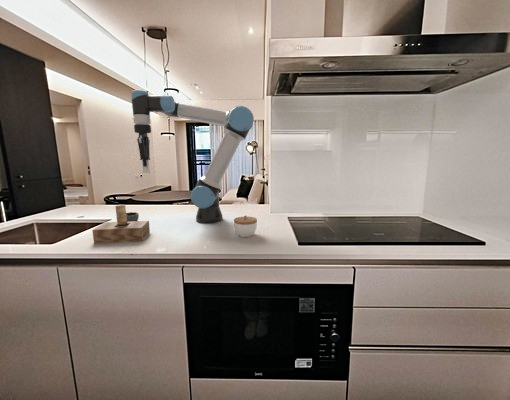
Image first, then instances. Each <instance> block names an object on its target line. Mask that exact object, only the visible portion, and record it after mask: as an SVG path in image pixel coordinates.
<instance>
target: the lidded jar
mask: <svg viewBox="0 0 510 400" xmlns="http://www.w3.org/2000/svg"><path fill="white" fill-rule="evenodd" d="M233 223H234V225H233V226H234V230H235V232H236V233H237V235H238V236H240V238H250V237H252V236H253V235H254V234H255V232H257V231H256V230H257V225H258V224H257V223H258V218H257V217H254V216H248V215H244V216H239V217H235V218H234V219H233Z"/></svg>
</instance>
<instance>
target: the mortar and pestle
mask: <svg viewBox="0 0 510 400" xmlns="http://www.w3.org/2000/svg"><path fill="white" fill-rule="evenodd" d="M119 205H122V204H120V203H119ZM126 216H127V222H129V221H139V217H140V216H139V213H138V212H132V211H131V212H126Z"/></svg>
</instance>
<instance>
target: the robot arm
mask: <svg viewBox="0 0 510 400" xmlns="http://www.w3.org/2000/svg"><path fill="white" fill-rule="evenodd" d="M130 101H131V105H132V106H131V107H132V117H131V119H132V120H133V124H134V125H133V129H134V133H136V134H138V137H137V139H136V140H137V143H138V144H137V146H138V151H139V157H140V158H139V160H140V161H142V162H141V164H142V173H143V174H149V173H150V162H149V161H150V160H151V158H150V157H151V156H150V143H151V142H150V139H149V138H150V137H149V136H148V134H151V133H152V127H151V123H152V122H151V115H150V114H151V113H162V114H164V115H165V116H167V117H170V118H171V117H172V118H178V119H179V118H180V119H185V120H189V121H190V120H191V121H194V122H199V123H204V124H209V125H215V126H219V127H223V130H224V134H223V137H222V139H221V141H220V143H219V144H218V147H217V148H216V151H215V153H214V155H213V157H212V159H211V162H210V163H209V165H208V168H207V169H206V171H205V174H204V175H203V176H200V177H199V180H198V181H197V183H196V185H195V187H194V188H193V189H192V191H191V193H190V200H191V202H192V203H193V205H194V206H195V207H197V212H196V216H195V221H196V222H198V223H201V224H213V223H218V222H221V221H223V219H224V217H223V213H222V210H221V208H220V196H219V195H220V194H219V193H220V190H221V188H222V187H221V184H220V183H221V181H222V180H223V178H224V175H225V173H226V171H227V169H228V168H229V166H230V163H231V162H232V159H233V157H234V156H235V153H236V152H237V149H238V148H239V145H240V143H241V142H243V141H245V140H246V138H247V136H248V134H249V133H250V131H251V129H252V128H253V125H254V121H255V120H254V119H255V118H254V115H253V114H254V113H253V111H251V109H249V108H248V107H246V106H244V105H237V106H235V107H234V108H232V109H231V110H227V111H221V110H219V109H218V110H217V109H213V108H206V107H202V106H197V105H192V104H188V103H187V104H186V103H182V102H177V101H175V99H174V97H173V96H172V95H169V94H168V95H167V94H163V95H159V94H158V95H153V94H152V95H150V94H149V92H148V91H146V90H144V89H143V90H142V89H141V90H140V89H134V90H132V91H131V100H130Z"/></svg>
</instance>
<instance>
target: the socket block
mask: <svg viewBox="0 0 510 400" xmlns="http://www.w3.org/2000/svg"><path fill="white" fill-rule="evenodd" d="M150 231H151V230H150V221H149V220H138V221H129V222H127V226H125V227H118V226H117V221H108V222H106V221H105V222H103V223H102V224H99V225H98V226H96V227H95V228H93V229H92V231H91V232H92V238H93V244H105V243H125V242H126V243H127V242H143V241H144V240H145V239H146V238H147V237H148V236H149V234H150V233H151V232H150Z"/></svg>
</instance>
